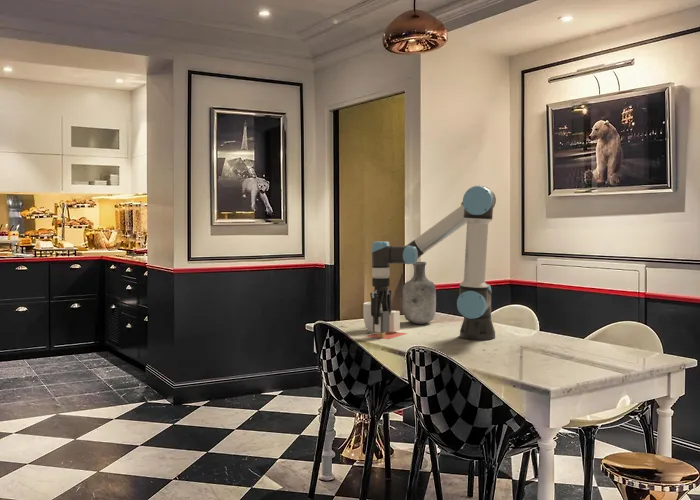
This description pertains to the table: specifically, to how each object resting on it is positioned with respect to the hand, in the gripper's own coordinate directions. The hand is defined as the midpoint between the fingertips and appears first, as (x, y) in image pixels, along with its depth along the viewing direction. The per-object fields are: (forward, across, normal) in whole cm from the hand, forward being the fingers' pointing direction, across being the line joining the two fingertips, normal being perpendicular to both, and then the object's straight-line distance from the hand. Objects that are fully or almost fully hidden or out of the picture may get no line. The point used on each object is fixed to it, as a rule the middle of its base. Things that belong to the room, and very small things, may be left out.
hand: (381, 330), depth 295 cm
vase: (+3, -43, -5) cm, 43 cm away
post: (+3, 0, 0) cm, 3 cm away
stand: (+3, -6, -1) cm, 7 cm away
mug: (+3, -14, -11) cm, 18 cm away
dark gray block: (0, 0, 0) cm, 0 cm away
